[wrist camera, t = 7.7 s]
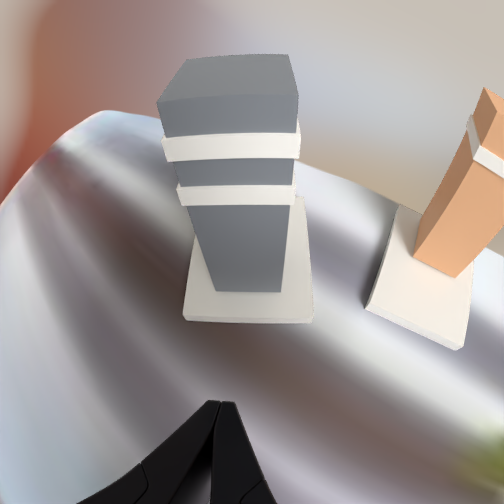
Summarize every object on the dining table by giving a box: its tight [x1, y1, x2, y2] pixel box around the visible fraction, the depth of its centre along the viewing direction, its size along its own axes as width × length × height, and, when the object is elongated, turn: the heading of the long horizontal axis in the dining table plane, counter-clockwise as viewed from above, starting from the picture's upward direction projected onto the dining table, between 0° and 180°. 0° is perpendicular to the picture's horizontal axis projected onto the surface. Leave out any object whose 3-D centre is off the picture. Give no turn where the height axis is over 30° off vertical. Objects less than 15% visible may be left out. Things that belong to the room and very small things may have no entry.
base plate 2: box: [365, 204, 474, 351], centre depth 21 cm, size 11×9×1 cm
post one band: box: [413, 88, 504, 278], centre depth 15 cm, size 5×5×14 cm
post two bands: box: [157, 54, 301, 292], centre depth 15 cm, size 5×5×14 cm
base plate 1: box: [183, 197, 314, 323], centre depth 22 cm, size 11×9×1 cm
